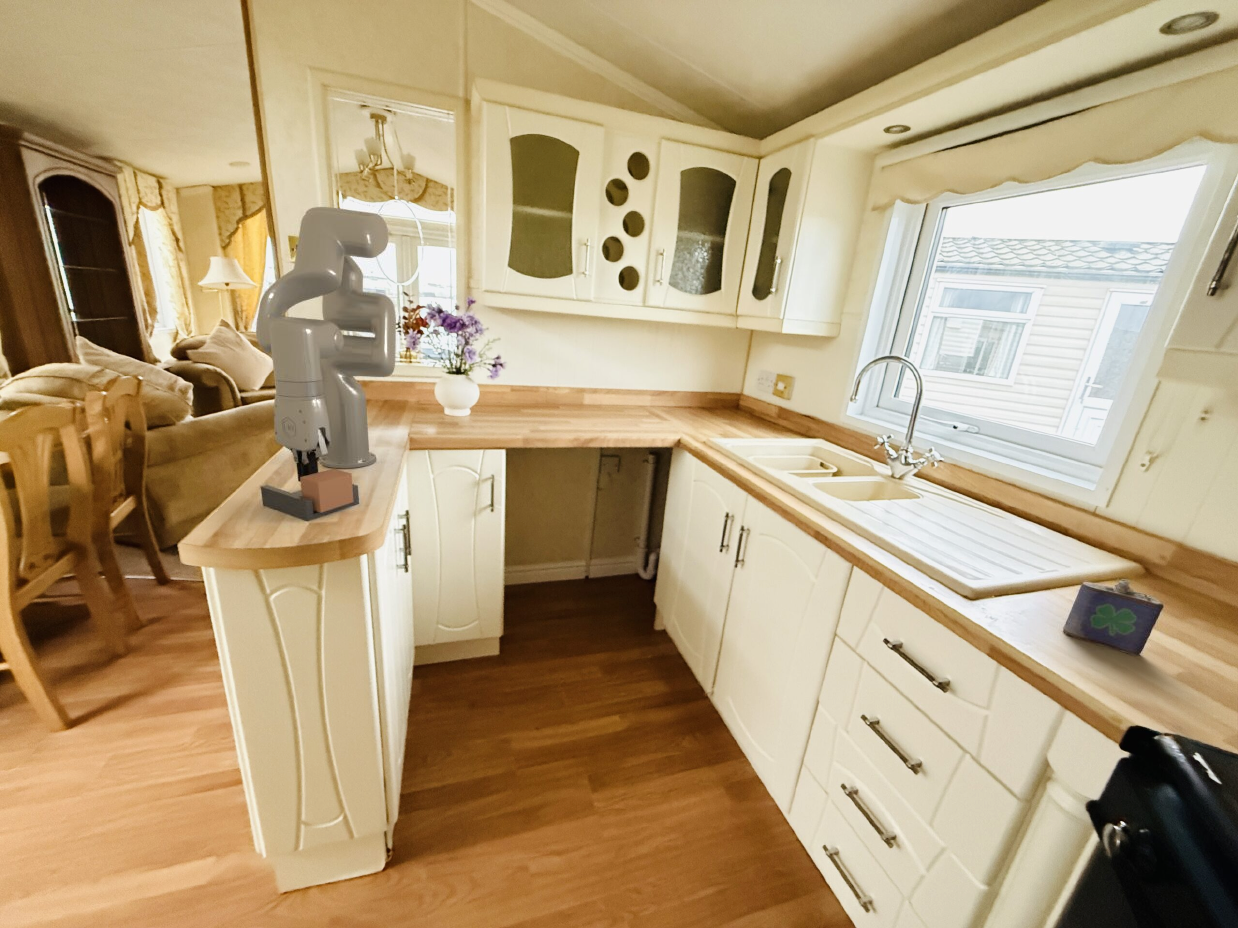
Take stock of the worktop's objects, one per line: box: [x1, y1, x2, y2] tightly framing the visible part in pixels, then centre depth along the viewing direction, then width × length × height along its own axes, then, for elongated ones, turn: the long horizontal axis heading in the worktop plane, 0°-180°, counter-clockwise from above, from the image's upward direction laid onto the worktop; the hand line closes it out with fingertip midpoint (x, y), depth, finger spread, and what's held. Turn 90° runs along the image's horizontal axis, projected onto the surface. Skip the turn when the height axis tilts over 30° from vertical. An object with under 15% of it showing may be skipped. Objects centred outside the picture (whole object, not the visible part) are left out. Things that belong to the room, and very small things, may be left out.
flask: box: [1062, 578, 1164, 657], centre depth 75 cm, size 9×3×11 cm, turn 60°
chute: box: [260, 483, 360, 522], centre depth 99 cm, size 13×11×4 cm
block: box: [300, 468, 354, 513], centre depth 96 cm, size 5×7×6 cm
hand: (308, 480), depth 98 cm, fingers closed
